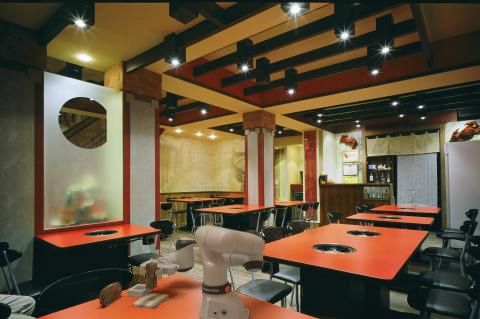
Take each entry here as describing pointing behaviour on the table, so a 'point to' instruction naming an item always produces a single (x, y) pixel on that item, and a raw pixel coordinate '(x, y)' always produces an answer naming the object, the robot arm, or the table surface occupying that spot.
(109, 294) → the tin
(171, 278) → the table surface
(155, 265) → the peg
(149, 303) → the board
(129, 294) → the holder
